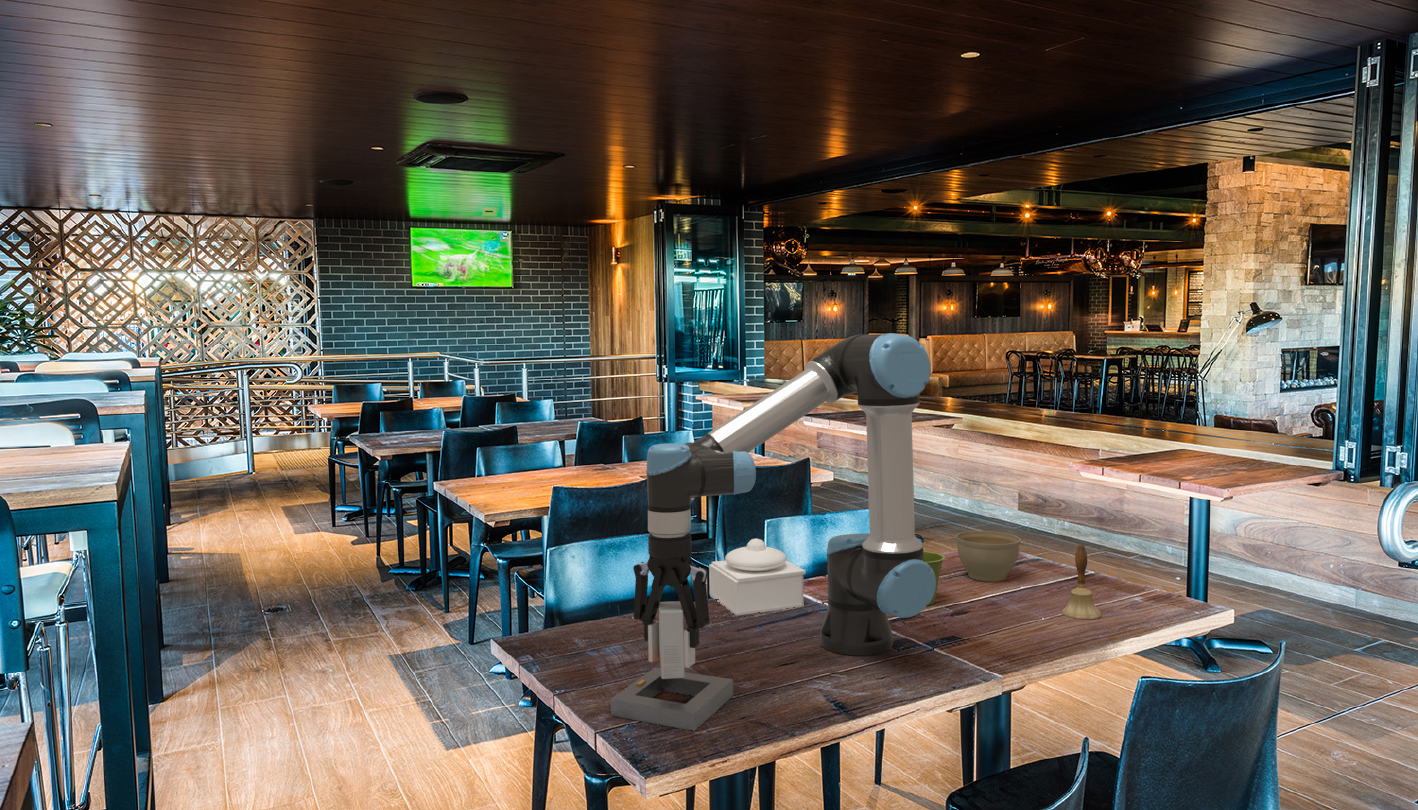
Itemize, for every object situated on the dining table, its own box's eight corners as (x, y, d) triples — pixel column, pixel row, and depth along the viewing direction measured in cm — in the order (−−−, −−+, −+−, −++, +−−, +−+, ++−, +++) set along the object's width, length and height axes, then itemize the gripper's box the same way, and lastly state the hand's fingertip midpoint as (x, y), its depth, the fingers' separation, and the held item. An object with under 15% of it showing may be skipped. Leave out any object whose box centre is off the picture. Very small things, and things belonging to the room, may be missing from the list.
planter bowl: (1010, 589, 229) (1011, 546, 228) (947, 580, 238) (947, 539, 237) (1027, 574, 242) (1027, 534, 241) (966, 567, 251) (966, 528, 250)
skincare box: (659, 666, 164) (658, 601, 163) (683, 665, 164) (682, 600, 163) (660, 679, 158) (659, 611, 157) (685, 678, 158) (684, 610, 157)
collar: (733, 695, 165) (732, 677, 165) (694, 731, 151) (694, 711, 151) (655, 682, 172) (654, 665, 172) (611, 715, 158) (610, 697, 157)
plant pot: (951, 599, 221) (951, 553, 221) (935, 612, 211) (935, 564, 211) (904, 592, 228) (904, 548, 227) (886, 604, 218) (886, 558, 217)
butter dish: (709, 596, 228) (708, 534, 227) (775, 588, 235) (774, 527, 233) (736, 616, 212) (735, 549, 211) (806, 607, 218) (805, 541, 217)
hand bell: (1061, 617, 206) (1062, 548, 205) (1062, 607, 213) (1063, 540, 212) (1101, 621, 203) (1102, 550, 201) (1100, 610, 210) (1101, 542, 209)
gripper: (729, 532, 158) (730, 662, 160) (632, 524, 166) (634, 648, 168) (710, 542, 152) (712, 677, 153) (610, 532, 160) (613, 661, 161)
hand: (671, 661), depth 161 cm, fingers closed on skincare box, 6 cm apart
